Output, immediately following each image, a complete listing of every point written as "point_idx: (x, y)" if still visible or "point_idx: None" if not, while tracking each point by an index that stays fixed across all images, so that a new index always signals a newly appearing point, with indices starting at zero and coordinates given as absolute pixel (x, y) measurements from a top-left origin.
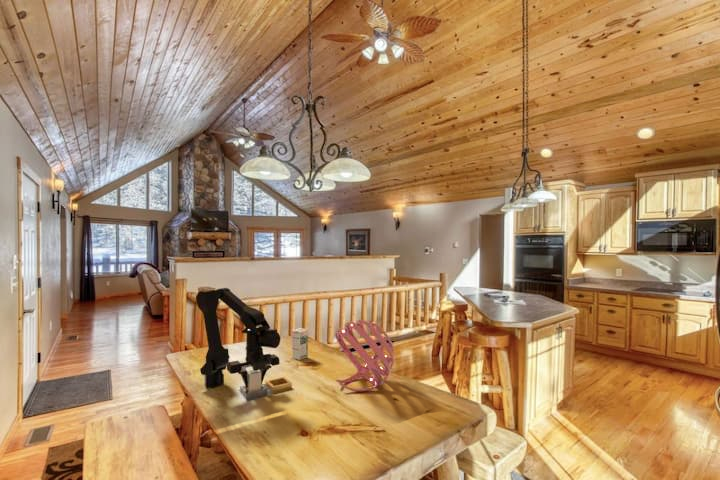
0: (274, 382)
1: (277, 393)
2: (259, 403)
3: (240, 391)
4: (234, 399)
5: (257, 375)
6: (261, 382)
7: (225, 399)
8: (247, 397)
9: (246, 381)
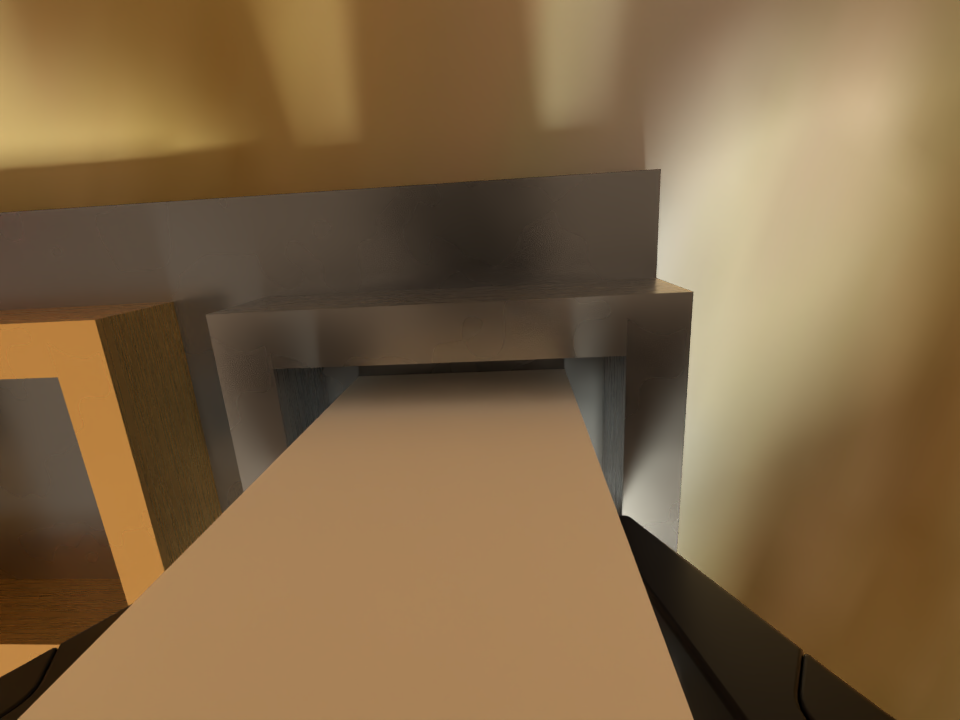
0: (77, 606)
1: (92, 221)
2: (462, 85)
3: None
4: (762, 462)
5: (259, 674)
6: None
7: (872, 529)
8: (639, 280)
9: (696, 613)
